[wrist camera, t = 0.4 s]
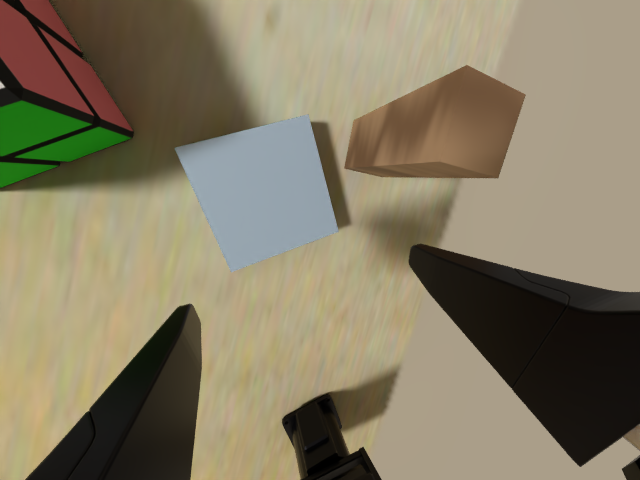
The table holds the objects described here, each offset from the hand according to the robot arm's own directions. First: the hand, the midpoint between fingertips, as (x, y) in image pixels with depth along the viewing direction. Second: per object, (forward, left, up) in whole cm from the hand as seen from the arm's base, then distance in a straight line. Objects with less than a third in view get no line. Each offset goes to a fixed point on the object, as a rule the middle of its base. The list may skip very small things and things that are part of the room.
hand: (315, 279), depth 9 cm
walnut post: (+3, -11, -14) cm, 18 cm away
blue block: (+2, 0, -14) cm, 15 cm away
